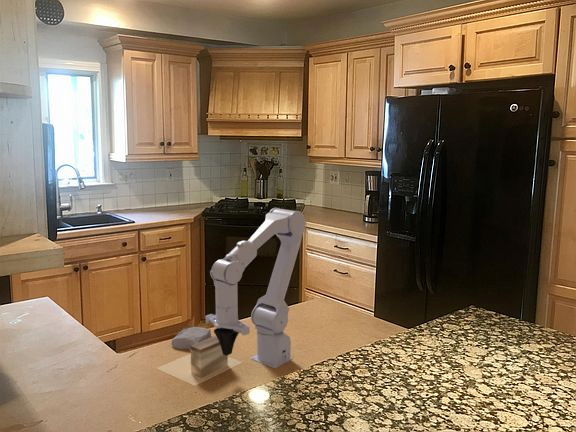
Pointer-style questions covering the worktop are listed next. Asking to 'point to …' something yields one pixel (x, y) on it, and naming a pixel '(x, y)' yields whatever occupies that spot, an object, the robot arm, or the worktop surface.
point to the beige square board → (183, 370)
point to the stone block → (190, 337)
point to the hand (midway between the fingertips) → (227, 353)
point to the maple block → (207, 357)
